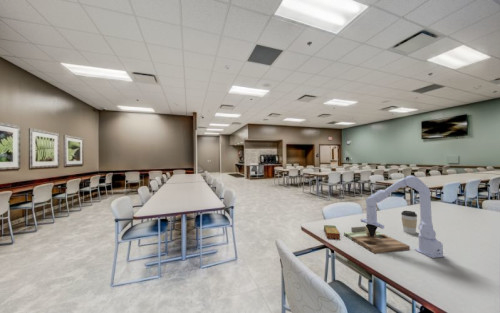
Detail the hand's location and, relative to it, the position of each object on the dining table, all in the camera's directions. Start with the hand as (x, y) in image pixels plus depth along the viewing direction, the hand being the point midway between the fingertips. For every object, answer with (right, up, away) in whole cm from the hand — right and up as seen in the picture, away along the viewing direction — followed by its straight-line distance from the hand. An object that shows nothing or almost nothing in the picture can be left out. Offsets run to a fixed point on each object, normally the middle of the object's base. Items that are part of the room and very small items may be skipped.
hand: (372, 236), depth 121 cm
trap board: (0, -3, -1) cm, 3 cm away
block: (+2, -1, +5) cm, 5 cm away
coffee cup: (+36, -3, +14) cm, 39 cm away
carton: (-22, -4, +11) cm, 25 cm away
